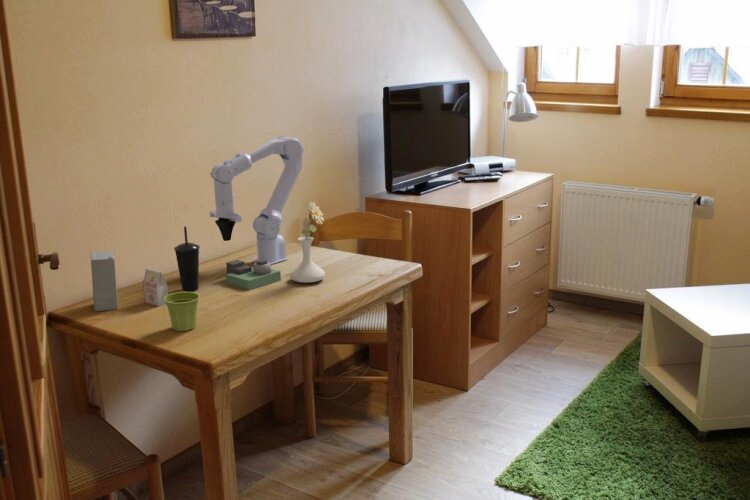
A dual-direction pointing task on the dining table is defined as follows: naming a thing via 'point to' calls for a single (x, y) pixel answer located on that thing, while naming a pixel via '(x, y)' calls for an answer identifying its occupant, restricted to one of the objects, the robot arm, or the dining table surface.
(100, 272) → the skincare box
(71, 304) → the dining table surface
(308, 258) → the flower in vase
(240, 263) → the notched gray block
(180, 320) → the plant pot
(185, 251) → the drinking cup
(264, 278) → the sage green base plate
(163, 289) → the white printed carton
